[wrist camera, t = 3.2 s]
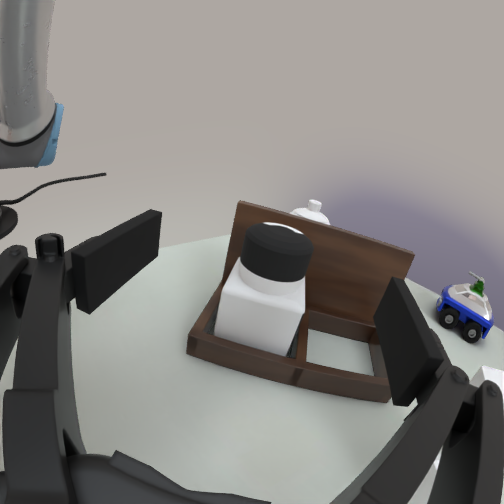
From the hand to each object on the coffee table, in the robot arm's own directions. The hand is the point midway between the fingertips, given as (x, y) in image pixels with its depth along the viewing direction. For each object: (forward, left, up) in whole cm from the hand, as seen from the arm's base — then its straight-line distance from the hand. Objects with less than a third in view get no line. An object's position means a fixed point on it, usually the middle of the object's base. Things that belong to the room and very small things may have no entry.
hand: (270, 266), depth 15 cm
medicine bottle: (-9, +4, -13) cm, 17 cm away
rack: (-7, +8, -13) cm, 17 cm away
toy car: (-8, +42, -13) cm, 45 cm away
